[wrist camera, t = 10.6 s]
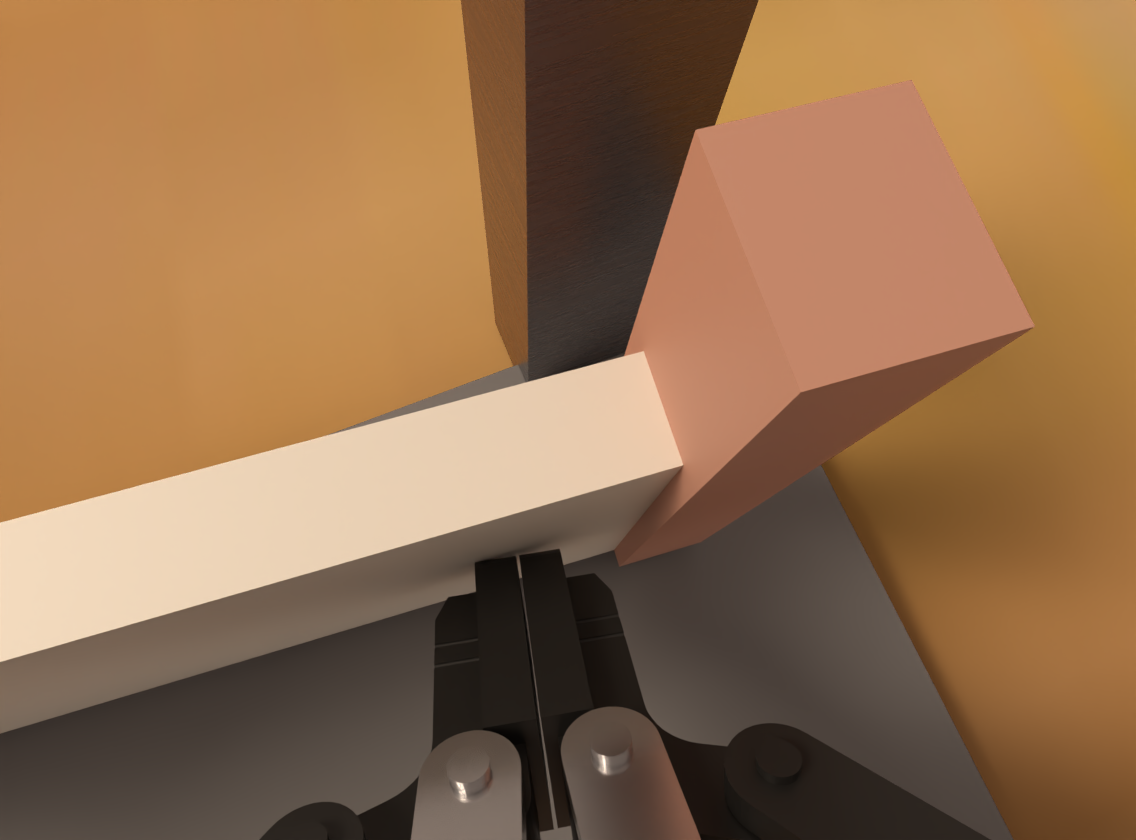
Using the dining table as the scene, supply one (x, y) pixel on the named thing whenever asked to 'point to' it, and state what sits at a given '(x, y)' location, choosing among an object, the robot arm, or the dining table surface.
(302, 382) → the dining table surface
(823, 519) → the mat
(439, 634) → the robot arm
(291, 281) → the dining table surface
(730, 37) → the gate posts
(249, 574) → the gate
